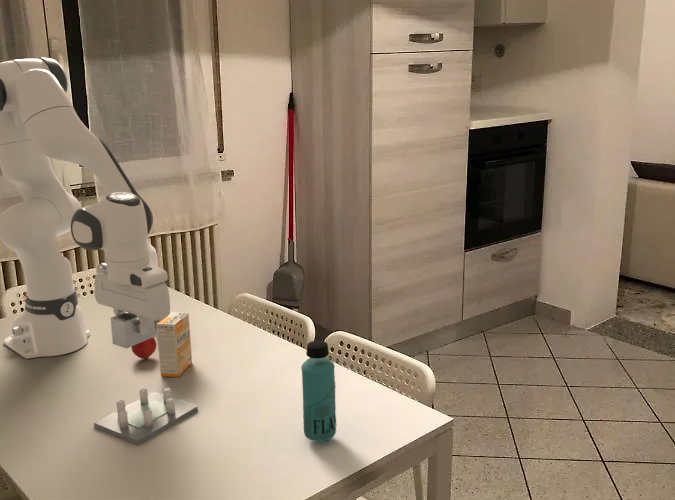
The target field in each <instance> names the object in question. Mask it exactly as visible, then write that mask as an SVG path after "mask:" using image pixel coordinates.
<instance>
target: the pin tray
mask: <svg viewBox="0 0 675 500" xmlns="http://www.w3.org/2000/svg"><path fill="white" fill-rule="evenodd" d="M138 392H139V398H138V399H136V400H134V401H133V402H131V403H128V404H127V405H126V402H125V400H121V399H120V400H117V401H116V403H115V404H116V410H115V411H113V412H111V413H109V414H107V415H105V416H104V417H102V418H100V419H97V420H96V421H94V422H93V426H94V428H95V429H98V430H100V431H103V432H105V433H107V434H110V435H112V436H116V437H117V438H120V439H122V440H124V441H127V442H129V443H132V444H134V445H137V446H140V445H142V444H143V443H145V442H146V441H149V440H150V439H151V438H153V437H155V436H156V435H158V434H160V433H162V432H164V431H165V430H167V429H169V428H170V427H172V426H174V425H176V424H177V423H179V422H180V421H183V420H184V419H186V418H187V417H189V416H191V415H193V414H194V413H196V412H198V405H195V404H192V403H189V402H186V401H184V400H181V399H178V398H175V397H172V393H171V392H172V391H171V388H169V387H165V388H163V389H162V393H160V392H158V391H156V390H155V391H152V392H150V393H148V388H141V389H139V391H138Z"/></svg>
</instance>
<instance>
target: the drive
mask: <svg viewBox="0 0 675 500" xmlns="http://www.w3.org/2000/svg"><path fill="white" fill-rule="evenodd" d="M124 312H125V311H124ZM140 322H141V320H139V316H138V315H135V314H131V313H128V312H125V313H122V314H120V315H117V316H116V315H114V316H112V317H110V326H111V327H110V328H111V329H110V330H111V339H112V345H114V346H118V347H121V348H123V349H126V350H127V349H129V348H132V346H134V345H136V344H138V343H141V342H143V341H145V340H148V339H150V338H152V337H154V338H155V337H156V334H155V333H156V331H155V330H156V329H155V321H154V320H151V319H150V321H149V323H148V325H147V326H148V332H147V333H145V334H140V333H137V326H138V325H140Z"/></svg>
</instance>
